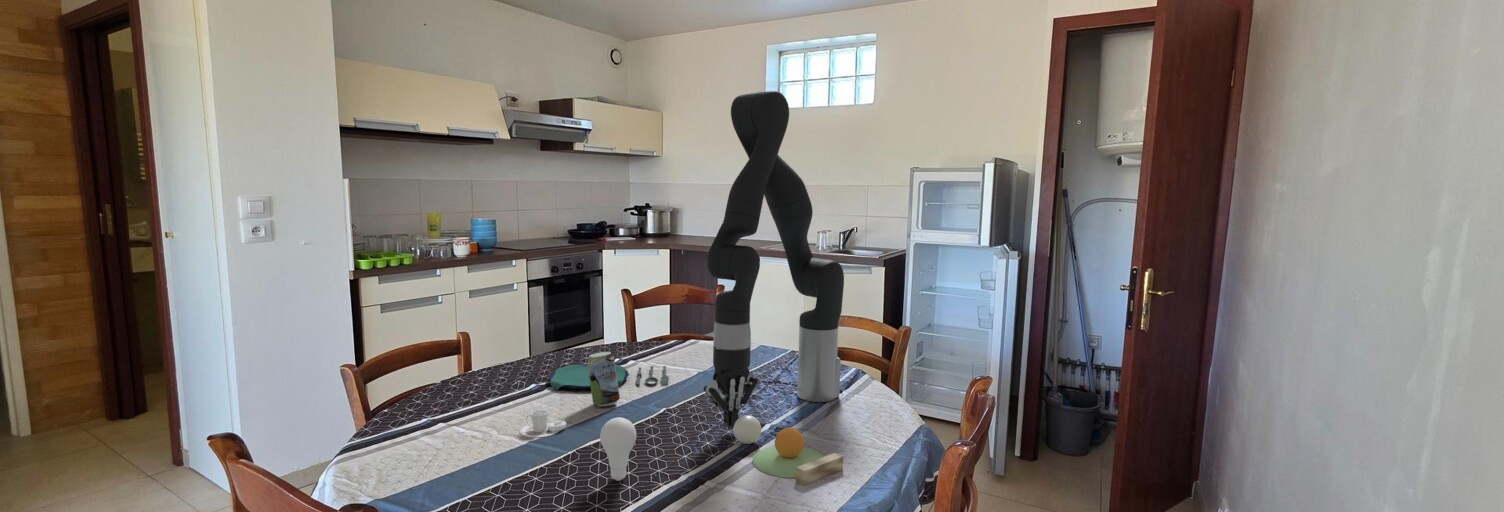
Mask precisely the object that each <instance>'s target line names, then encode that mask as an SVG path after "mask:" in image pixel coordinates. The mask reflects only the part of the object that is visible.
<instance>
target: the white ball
mask: <svg viewBox="0 0 1504 512" xmlns="http://www.w3.org/2000/svg"><path fill="white" fill-rule="evenodd" d="M732 428H733V435H734V437H735V439H736V440H737V441H738V442H740V443H742V444H745V445H750V444H753V443H755V442H756V441H758V440H759V438H760V436H761V434H762V426H761V423H760V421H759V420H758V418H757V417H754V416H753V415H750V414H744V415H741V416H740V417H738V419H737V421H736V422H735V424H734V427H732Z"/></svg>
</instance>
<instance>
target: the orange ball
mask: <svg viewBox="0 0 1504 512" xmlns="http://www.w3.org/2000/svg"><path fill="white" fill-rule="evenodd" d="M776 434H777V435H775V438H774V446H775V447H776V450H777V452H778V453H779V454H780V455H782V456H783V457H786V458H793V457H796V456H798V455H799V454H800V453H801V452H802V450H803V447H805V439H804V436H803V435H802V433H801V432H800V431H799V430H798V429H796V428H793V427H785V428H783V429H781V430H779V431H778V433H776Z"/></svg>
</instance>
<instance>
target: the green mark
mask: <svg viewBox="0 0 1504 512" xmlns="http://www.w3.org/2000/svg"><path fill="white" fill-rule="evenodd" d="M825 456H826V455H824V454H823V453H821V452H819V451H817V450H816V449H812V448H809V447H806V446H804V447H803V450H802V452H801V453H800V454H799V455H798V456H796V457H793V458H786V457H783V456H782V455H780V454H779V453H778V452H777V450H776V447H775V445H774V446H773V445H772V446H768V447H765V448H762V449H760V450H758V451H756V452H755V453H754V454H753V456H752V464H753V467H755V468H756V469H757V470H758V471H760V472H762V473H764V474H767V475H770V476H773V477H778V478H787V479H796V467H798V466H801V465H804V464H806V463H809V462H812V461H814V460H817V459H820V458H822V457H825Z"/></svg>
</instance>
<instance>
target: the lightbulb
mask: <svg viewBox="0 0 1504 512" xmlns="http://www.w3.org/2000/svg"><path fill="white" fill-rule="evenodd" d="M636 439H637V429H636V427H635V425H634V424H633V422H631V420H629V419H627V418H624V417H619V416H618V417H614V418H611V419H609V420H608V421H606V422H605V423H604V425H603V426H602V428H601V430H600V434H599V440H600V444H601V446H602V448H603V449H604V451H605V453H606V455H607V458H608V466H609V467H610V477H611V479H613V480H615V481H617V482H619V481H622V480H623V479H625V478H626V476H627V466H628V464H629V456H630V453H631V451H632V449H633V447H634V445H635V443H636V441H637V440H636Z"/></svg>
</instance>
